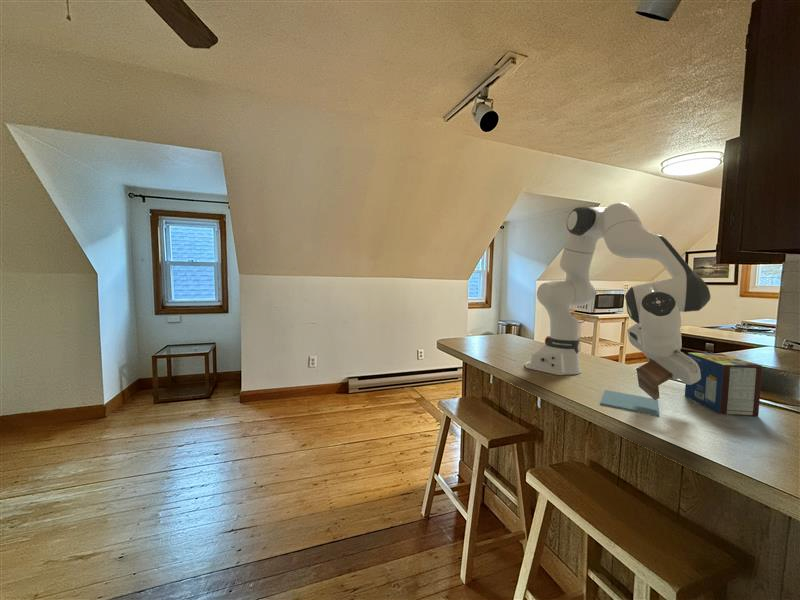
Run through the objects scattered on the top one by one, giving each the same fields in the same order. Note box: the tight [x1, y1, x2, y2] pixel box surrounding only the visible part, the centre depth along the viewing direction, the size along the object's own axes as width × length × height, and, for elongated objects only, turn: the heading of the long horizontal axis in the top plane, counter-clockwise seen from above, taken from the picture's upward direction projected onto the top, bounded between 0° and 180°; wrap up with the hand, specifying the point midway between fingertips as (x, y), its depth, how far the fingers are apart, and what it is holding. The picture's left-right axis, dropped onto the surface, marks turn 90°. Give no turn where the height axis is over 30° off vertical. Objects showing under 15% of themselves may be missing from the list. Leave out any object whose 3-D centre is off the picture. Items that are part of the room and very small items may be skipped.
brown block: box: [636, 360, 672, 400], centre depth 102 cm, size 10×6×12 cm
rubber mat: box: [599, 389, 660, 418], centre depth 107 cm, size 15×15×1 cm
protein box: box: [684, 352, 763, 417], centre depth 105 cm, size 10×15×16 cm
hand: (663, 369), depth 100 cm, fingers closed on brown block, 6 cm apart
